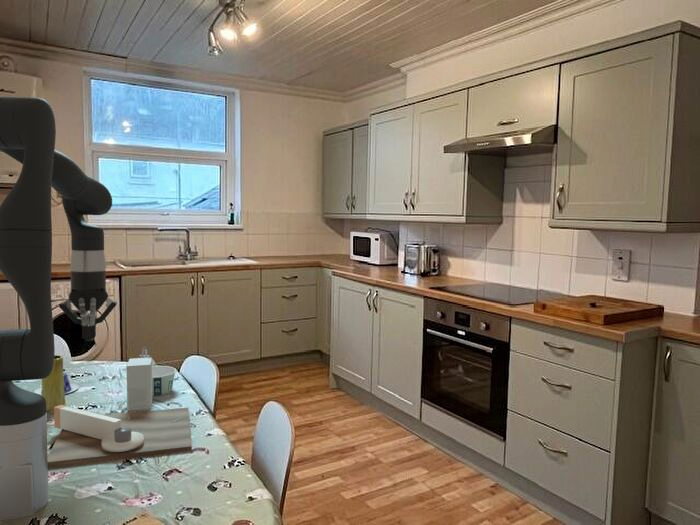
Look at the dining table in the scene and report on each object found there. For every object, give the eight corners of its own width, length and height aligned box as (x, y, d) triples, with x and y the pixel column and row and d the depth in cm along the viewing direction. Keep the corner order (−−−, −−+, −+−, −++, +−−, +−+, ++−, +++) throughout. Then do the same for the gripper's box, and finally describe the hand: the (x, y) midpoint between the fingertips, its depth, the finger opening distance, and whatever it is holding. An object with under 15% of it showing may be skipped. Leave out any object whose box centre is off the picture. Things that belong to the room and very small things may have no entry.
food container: (135, 387, 167) (135, 367, 167) (175, 384, 171) (175, 364, 171) (134, 400, 156) (134, 378, 155) (177, 396, 160) (177, 374, 160)
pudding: (70, 397, 157) (70, 380, 157) (27, 398, 155) (26, 381, 155) (84, 384, 169) (83, 368, 169) (43, 386, 167) (43, 369, 167)
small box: (129, 402, 154) (129, 358, 153) (152, 400, 156) (152, 357, 155) (126, 411, 146) (126, 365, 145) (151, 410, 148) (150, 364, 147)
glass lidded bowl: (165, 363, 196) (165, 342, 196) (156, 369, 188) (156, 348, 187) (142, 362, 197) (141, 342, 196) (131, 369, 188) (131, 347, 187)
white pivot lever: (152, 440, 124) (152, 418, 124) (121, 455, 116) (121, 432, 116) (74, 420, 135) (73, 400, 135) (40, 432, 127) (40, 411, 126)
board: (191, 452, 122) (191, 445, 122) (44, 469, 113) (44, 462, 112) (188, 412, 147) (188, 407, 147) (67, 423, 137) (67, 417, 137)
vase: (54, 412, 145) (53, 361, 144) (35, 410, 146) (34, 359, 145) (70, 404, 151) (69, 355, 150) (52, 402, 152) (50, 354, 151)
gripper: (53, 270, 121) (55, 345, 122) (116, 270, 125) (117, 342, 126) (60, 268, 128) (61, 338, 129) (119, 267, 132) (120, 336, 133)
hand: (89, 340), depth 128 cm, fingers closed
